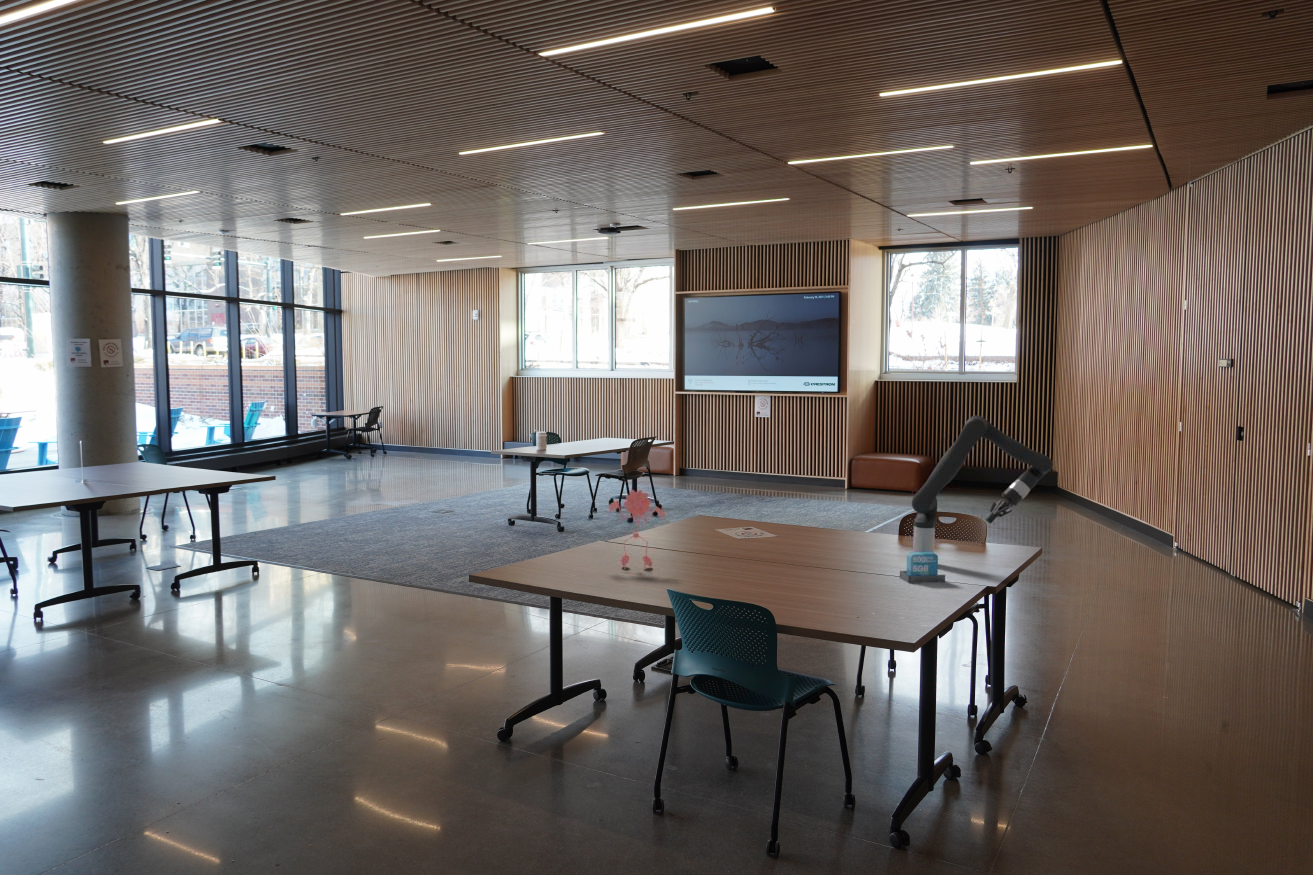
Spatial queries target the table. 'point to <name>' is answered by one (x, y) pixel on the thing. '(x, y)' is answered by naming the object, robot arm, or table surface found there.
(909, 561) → the data package
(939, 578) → the keeper bracket
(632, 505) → the pink fuzzy puppet
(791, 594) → the table surface
